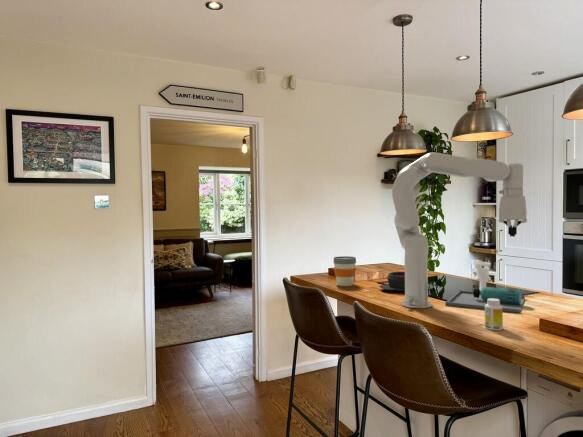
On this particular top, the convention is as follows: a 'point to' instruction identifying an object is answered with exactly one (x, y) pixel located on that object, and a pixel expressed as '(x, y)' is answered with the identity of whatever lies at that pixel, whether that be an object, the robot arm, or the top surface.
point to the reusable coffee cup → (344, 270)
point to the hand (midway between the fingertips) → (512, 236)
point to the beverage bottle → (499, 294)
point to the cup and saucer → (395, 282)
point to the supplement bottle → (493, 314)
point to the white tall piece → (482, 273)
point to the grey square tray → (479, 302)
